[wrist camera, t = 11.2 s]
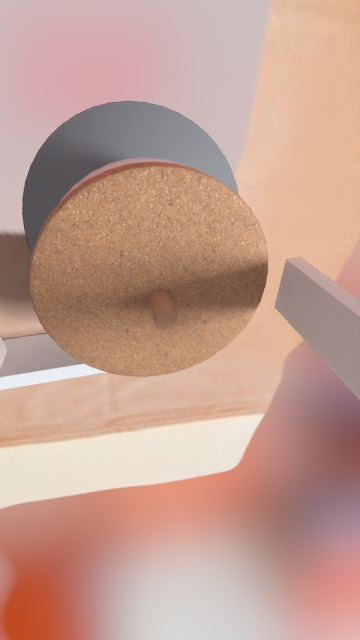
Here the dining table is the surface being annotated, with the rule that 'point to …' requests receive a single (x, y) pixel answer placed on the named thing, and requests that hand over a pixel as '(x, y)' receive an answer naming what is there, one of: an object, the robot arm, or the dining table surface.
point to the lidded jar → (147, 268)
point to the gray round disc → (113, 152)
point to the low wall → (38, 362)
